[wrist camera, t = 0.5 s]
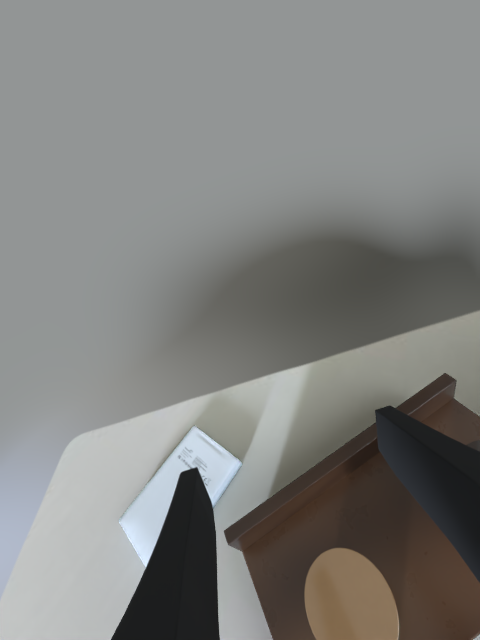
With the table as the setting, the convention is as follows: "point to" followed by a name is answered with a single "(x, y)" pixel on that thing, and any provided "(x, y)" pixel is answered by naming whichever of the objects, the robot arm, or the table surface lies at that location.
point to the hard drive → (157, 495)
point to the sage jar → (349, 599)
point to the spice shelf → (365, 533)
